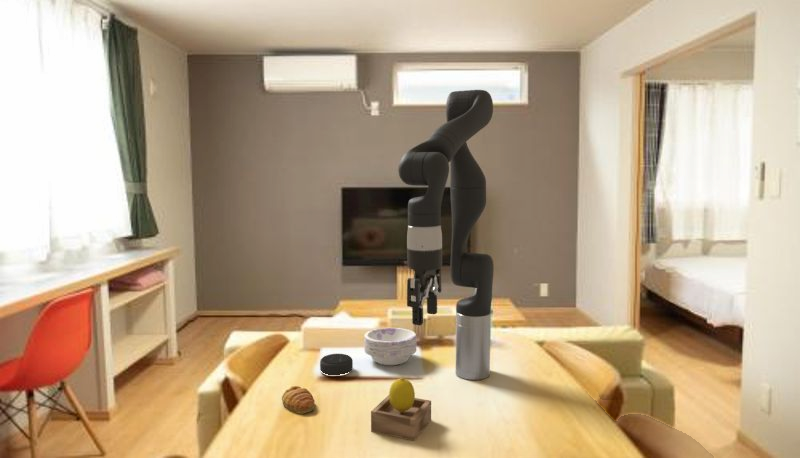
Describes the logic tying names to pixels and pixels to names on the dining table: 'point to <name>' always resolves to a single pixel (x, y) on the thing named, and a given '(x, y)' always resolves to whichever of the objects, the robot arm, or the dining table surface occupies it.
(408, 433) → the open wooden tray
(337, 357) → the smart speaker
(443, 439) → the dining table surface
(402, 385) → the lemon
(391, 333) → the paper bowls
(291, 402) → the pastry
